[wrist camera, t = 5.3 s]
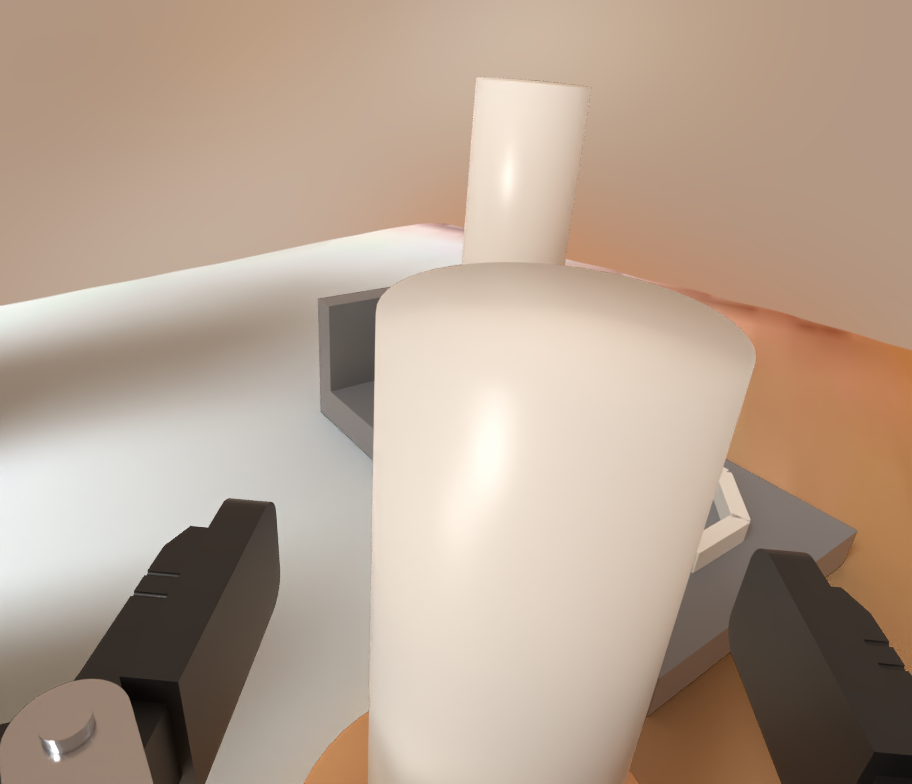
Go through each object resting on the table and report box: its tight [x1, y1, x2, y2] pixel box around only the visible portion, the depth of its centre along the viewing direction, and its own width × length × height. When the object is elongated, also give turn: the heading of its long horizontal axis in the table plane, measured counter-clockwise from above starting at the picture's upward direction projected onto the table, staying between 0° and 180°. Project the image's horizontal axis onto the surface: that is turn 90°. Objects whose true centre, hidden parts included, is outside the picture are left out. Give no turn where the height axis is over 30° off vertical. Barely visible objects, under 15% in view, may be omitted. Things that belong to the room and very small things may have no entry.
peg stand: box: [318, 77, 857, 717], centre depth 24 cm, size 19×11×14 cm, turn 37°
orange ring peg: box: [304, 262, 756, 784], centre depth 10 cm, size 7×7×13 cm
